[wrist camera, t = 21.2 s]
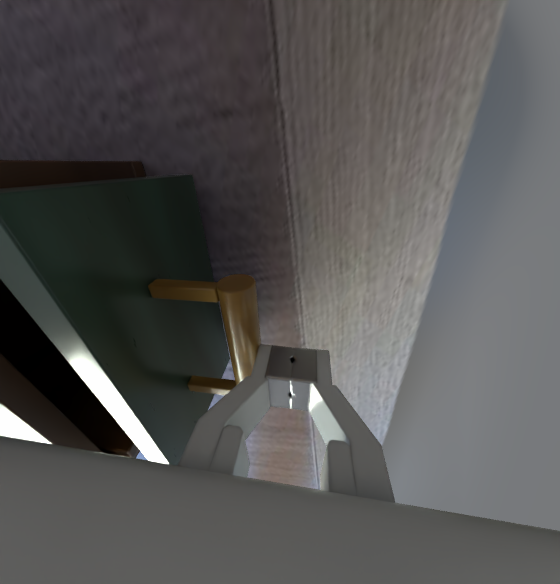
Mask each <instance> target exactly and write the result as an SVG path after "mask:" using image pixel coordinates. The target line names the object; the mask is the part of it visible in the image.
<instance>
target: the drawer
mask: <svg viewBox="0 0 560 584" xmlns="http://www.w3.org/2000/svg"><path fill="white" fill-rule="evenodd" d="M218 301H219V302H220V307H221V312H222V317H223V322H224V327H225V332H226V337H227V342H228V347H229V352H230V357H231V362H232V367H233V372H234V377H235V380H228V379H221V378H222V376H223V373H224V371H225V369H226V366H227V364H228V362H229V359H230V357H229V352H228V347H227V342H226V337H225V332H224V327H223V322H222V318H221V313H220V308H219V303H218ZM260 345H261V339H260V327H259V315H258V303H257V291H256V281H255V279H254V278H253V277H251V276H249V275H245V274H234V275H229V276H226V277H224V278H222V279H220V280H219V281H218V282H214V278H213V274H212V269H211V264H210V259H209V254H208V249H207V244H206V239H205V234H204V229H203V225H202V220H201V215H200V210H199V205H198V200H197V195H196V190H195V185H194V181H193V176H192V175H191V174H190V175H161V176H148V177H136V178H124V179H112V180H100V181H88V182H75V183H63V184H51V185H39V186H27V187H14V188H2V189H0V353H1V354H2V355H3V356H4V357H5V358H6V359H7V360H8V361H9V362H10V363H11V364H12V365H13V366H14V367H15V368H16V369H18V370H19V371H20V372H21V373H22V374H23V375H24V376H25V377H26V378H27V379H28V380H29V381H30V382H31V383H32V384H33V385H34V386H35V387H36V388H37V389H38V390H39V391H40V392H41V393H42V394H43V395H44V396H45V397H47V398H48V399H49V400H50V401H51V402H52V403H53V404H54V405H55V406H56V407H57V408H58V409H59V410H60V411H61V412H62V413H63V414H64V415H65V416H66V417H67V418H68V419H69V420H70V421H71V422H72V423H73V424H74V425H75V426H77V427H78V428H79V429H80V430H81V431H82V432H83V433H84V434H85V435H86V436H87V437H88V438H89V439H90V440H91V441H92V442H93V443H94V444H95V445H96V446H97V447H98V448H99V449H100V450H101V451H102V452H103V453H107V454H112V455H118V456H124V457H130V458H134V456H135V455H136V453H137V452H138V450H139V449H140V451H141V452H142V453H143V454H144V456H145V457H146V458H147V459H148V460H149V461H153V462H159V463H165V464H171V465H178V463H179V461H180V459H181V456H182V454H183V452H184V450H185V448H186V445H187V443H188V441H189V439H190V437H191V434H192V432H193V430H194V428H195V426H196V423H197V421H198V419H199V418H200V417H201V416H203V415H204V414H205V413H206V412H207V411H208V408H209V406H210V404H211V401H212V399H213V397H214V394H219V395H226V394H227V393H228V392H230V391H231V390H232V389H233V388H234V387H235V386H236V385H237V384H239V383H240V382H241V381H242V380H243V379H244V378H245V377H246V376H251V373H252V370H253V366H254V363H255V359H256V356H257V353H258V349H259V346H260Z"/></svg>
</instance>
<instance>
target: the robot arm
mask: <svg viewBox="0 0 560 584" xmlns="http://www.w3.org/2000/svg"><path fill="white" fill-rule="evenodd" d="M270 406H273V407H283V408H292V409H298V410H305V411H310V414H311V416H312V418H313V420H314V422H315V424H316V426H317V428H318V430H319V432H320V434H321V436H322V438H323V440H324V442H325V444H326V446H327V448H326V452H325V456H324V461H323V465H322V469H321V474H320V486H321V490H317V489H312V488H306V487H300V486H294V485H288V484H282V483H276V482H271V481H265V480H259V479H253V478H247V476H248V471H249V466H250V461H249V456H248V452H247V447H246V442H245V440H246V439H247V437H248V436H249V435H250V434H251V432H252V431H253V430H254V428H255V427H256V426H257V424H258V423H259V422H260V420H261V419H262V418H263V417H264V415H265V414H266V413H267V411H268V410H269V409H270ZM0 584H560V531H557V530H551V529H545V528H540V527H534V526H528V525H521V524H516V523H510V522H505V521H499V520H493V519H487V518H480V517H475V516H469V515H464V514H458V513H452V512H445V511H440V510H434V509H428V508H423V507H417V506H411V505H405V504H399V503H395V500H394V496H393V492H392V487H391V483H390V479H389V475H388V471H387V467H386V462H385V458H384V455H383V450H382V446H381V444H380V443H379V442H378V440H377V439H376V438H375V436H374V435H373V434H372V432H371V431H370V430H369V428H368V427H367V426H366V425H365V423H364V422H363V421H362V419H361V418H360V417H359V415H358V414H357V413H356V411H355V410H354V409H353V407H352V406H351V405H350V403H349V402H348V401H347V399H346V398H345V397H344V395H343V394H342V393H341V391H340V390H339V389H338V388H337V386H335V385H332V377H331V366H330V355H329V351H328V350H318V349H307V348H294V347H293V348H292V347H283V346H274V345H264V344H261V345H260V346H259V349H258V353H257V356H256V359H255V363H254V366H253V370H252V373H251V376H246V377H245V378H244V379H243V380H242V381H241V382H240V383H239V384H237V385H236V386H235V387H234V388H233V389H232V390H231V391H230V392H228V393H227V394H226V395H225V396H224V397H223V398H222V399H221V400H219V401H218V402H217V403H216V404H215V405H214V406H213V407H212V408H210V409H209V410H208V411H207V412H206V413H205V414H204V415H203V416H201V417H200V418H199V419H198V421H197V423H196V426H195V428H194V430H193V432H192V434H191V437H190V439H189V441H188V443H187V445H186V448H185V450H184V452H183V454H182V456H181V459H180V461H179V463H178V465H171V464H165V463H159V462H153V461H148V460H142V459H136V458H130V457H124V456H118V455H112V454H107V453H101V452H95V451H89V450H83V449H77V448H71V447H66V446H60V445H54V444H48V443H42V442H36V441H30V440H25V439H19V438H13V437H7V436H1V435H0Z"/></svg>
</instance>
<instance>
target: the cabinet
mask: <svg viewBox="0 0 560 584" xmlns="http://www.w3.org/2000/svg"><path fill="white" fill-rule="evenodd" d="M136 177H146V175H145V172H144V169H143V165H142V162H140V161H55V160H0V189H2V188H14V187H27V186H39V185H51V184H63V183H75V182H88V181H100V180H112V179H124V178H136ZM0 435H1V436H7V437H13V438H19V439H25V440H30V441H36V442H42V443H48V444H54V445H60V446H66V447H71V448H77V449H83V450H89V451H95V452H101V453H103V452H102V451H101V450H100V449H99V448H98V447H97V446H96V445H95V444H94V443H93V442H92V441H91V440H90V439H89V438H88V437H87V436H86V435H85V434H84V433H83V432H82V431H81V430H80V429H79V428H78V427H77V426H75V425H74V424H73V423H72V422H71V421H70V420H69V419H68V418H67V417H66V416H65V415H64V414H63V413H62V412H61V411H60V410H59V409H58V408H57V407H56V406H55V405H54V404H53V403H52V402H51V401H50V400H49V399H48V398H47V397H45V396H44V395H43V394H42V393H41V392H40V391H39V390H38V389H37V388H36V387H35V386H34V385H33V384H32V383H31V382H30V381H29V380H28V379H27V378H26V377H25V376H24V375H23V374H22V373H21V372H20V371H19V370H18V369H16V368H15V367H14V366H13V365H12V364H11V363H10V362H9V361H8V360H7V359H6V358H5V357H4V356H3V355H2V354H1V353H0ZM139 452H140V449H139V450H138V452H137V453H136V455H135V456H134V458H136V457H137V455H138V453H139Z"/></svg>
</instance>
